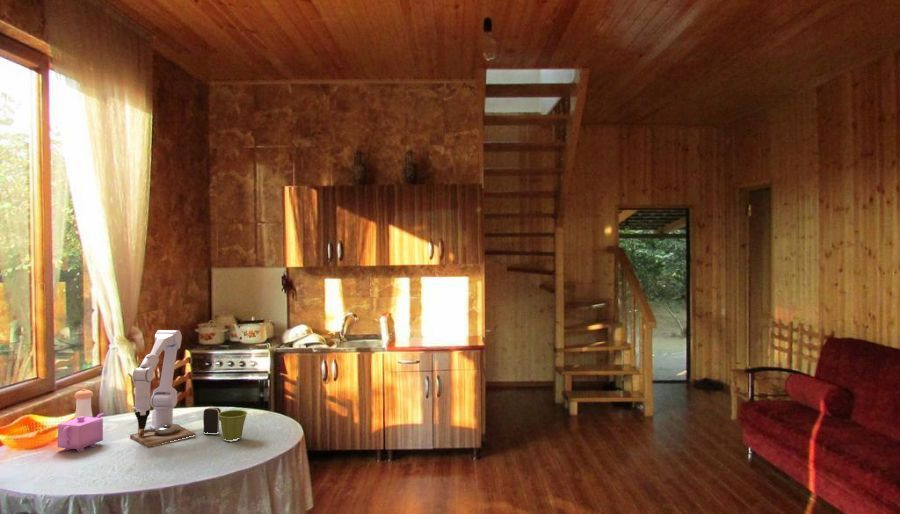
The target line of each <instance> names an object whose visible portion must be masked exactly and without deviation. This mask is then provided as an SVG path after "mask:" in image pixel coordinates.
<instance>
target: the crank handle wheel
mask: <svg viewBox="0 0 900 514" xmlns="http://www.w3.org/2000/svg"><path fill="white" fill-rule="evenodd" d="M179 431H180V424H176V423H173V424H164V425H160V426H157V427H155V428H145V429H139V425H138V424H137V433H138V436H142V435H144V433H149V432H154V434H155V435H171V434H175V433H177V432H179Z"/></svg>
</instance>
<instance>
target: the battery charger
mask: <svg viewBox="0 0 900 514" xmlns="http://www.w3.org/2000/svg"><path fill="white" fill-rule="evenodd" d="M221 412H222V411H221V408H220V407H207V408H205V409H204V410H203V416H202V417H203V418H202V419H203V420H202V421H203V433H204V432H205V433H207V432H208V433H217V432H219V431H220V417H219V416H218V414H219V413H221Z"/></svg>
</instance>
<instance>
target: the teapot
mask: <svg viewBox="0 0 900 514" xmlns="http://www.w3.org/2000/svg"><path fill="white" fill-rule="evenodd" d="M103 415H104V412H101V413H98V414H97V415H96V416H95V417H94V416H92V417H85V416H79V417H77V418H76V419H75V418H73V419H70V420H67V421H64V422H62V423H58V424H57V448H62V449H64V450H63V451H71V450H76V451H77V452H78V453H81V452H84V451H85V448H87V447H88V446H89V448H94V447H96V446H97V443H99V442H103V439H104V418H103V417H102V416H103Z"/></svg>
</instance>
